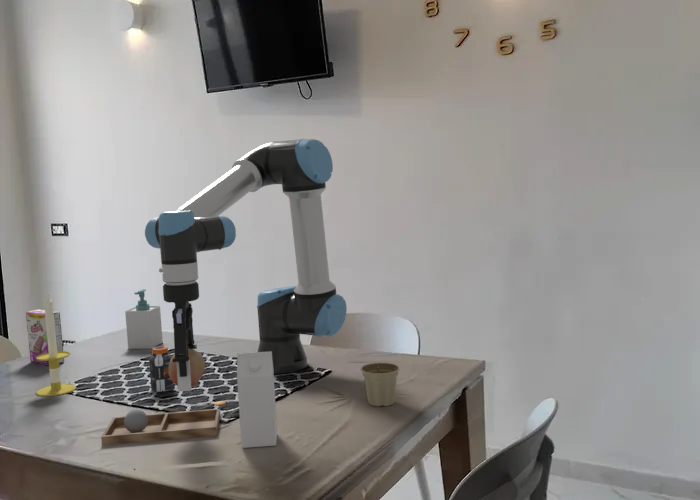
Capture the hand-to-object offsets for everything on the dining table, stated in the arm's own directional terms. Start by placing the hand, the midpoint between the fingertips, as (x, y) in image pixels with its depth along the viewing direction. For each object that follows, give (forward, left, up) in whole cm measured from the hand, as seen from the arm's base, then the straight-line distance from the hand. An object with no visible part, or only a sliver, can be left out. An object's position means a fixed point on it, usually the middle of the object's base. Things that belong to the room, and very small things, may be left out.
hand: (187, 384), depth 154 cm
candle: (+40, -40, -11) cm, 58 cm away
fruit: (0, 0, -1) cm, 1 cm away
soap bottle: (+24, -87, -11) cm, 91 cm away
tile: (-3, -16, -11) cm, 20 cm away
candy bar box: (+52, -73, -11) cm, 90 cm away
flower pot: (-44, -8, -11) cm, 46 cm away
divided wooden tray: (+6, 0, -11) cm, 12 cm away
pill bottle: (+11, -34, -11) cm, 37 cm away
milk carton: (-15, +10, -11) cm, 21 cm away
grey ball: (+11, 0, -10) cm, 15 cm away
